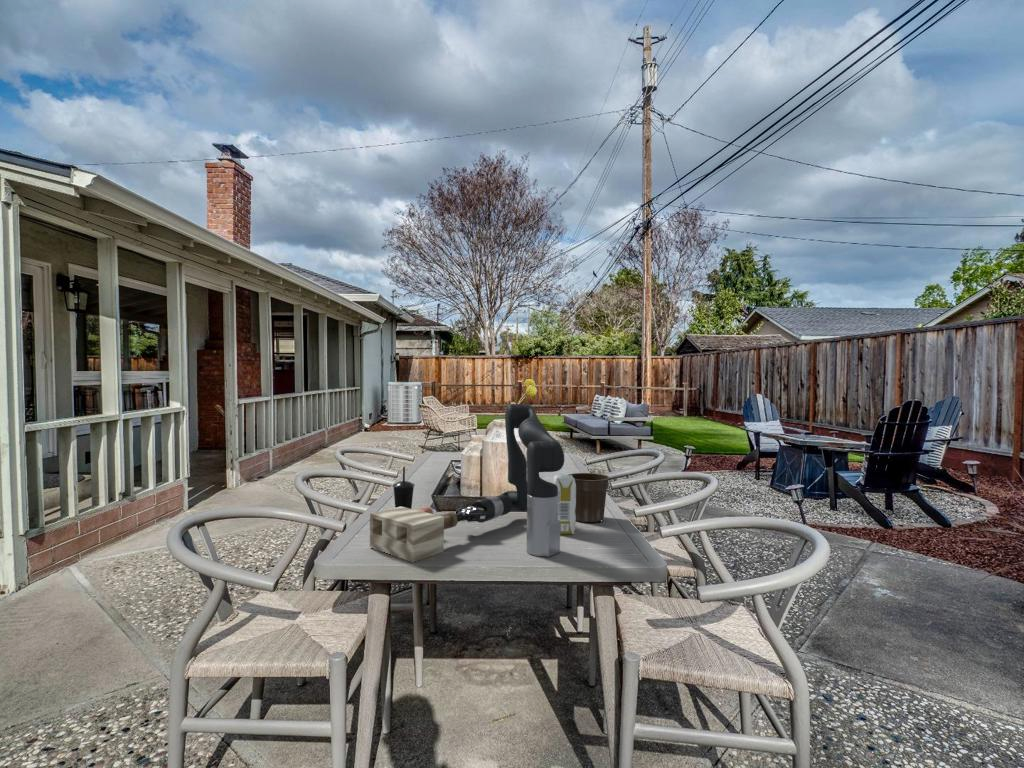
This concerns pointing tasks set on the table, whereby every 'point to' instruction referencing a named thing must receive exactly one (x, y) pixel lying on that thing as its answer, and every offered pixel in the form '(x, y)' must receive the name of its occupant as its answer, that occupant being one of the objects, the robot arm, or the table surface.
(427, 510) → the terracotta plug
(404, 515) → the socket block
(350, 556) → the table surface
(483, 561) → the table surface
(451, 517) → the walnut plug
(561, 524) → the juice carton
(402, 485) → the drinking cup
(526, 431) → the robot arm
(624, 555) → the table surface
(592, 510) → the plant pot
